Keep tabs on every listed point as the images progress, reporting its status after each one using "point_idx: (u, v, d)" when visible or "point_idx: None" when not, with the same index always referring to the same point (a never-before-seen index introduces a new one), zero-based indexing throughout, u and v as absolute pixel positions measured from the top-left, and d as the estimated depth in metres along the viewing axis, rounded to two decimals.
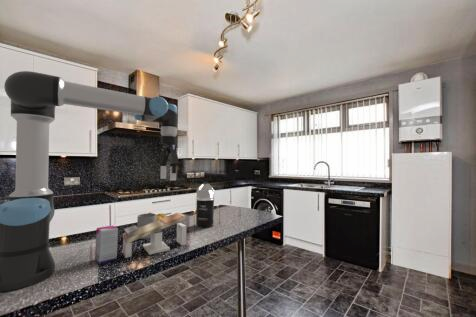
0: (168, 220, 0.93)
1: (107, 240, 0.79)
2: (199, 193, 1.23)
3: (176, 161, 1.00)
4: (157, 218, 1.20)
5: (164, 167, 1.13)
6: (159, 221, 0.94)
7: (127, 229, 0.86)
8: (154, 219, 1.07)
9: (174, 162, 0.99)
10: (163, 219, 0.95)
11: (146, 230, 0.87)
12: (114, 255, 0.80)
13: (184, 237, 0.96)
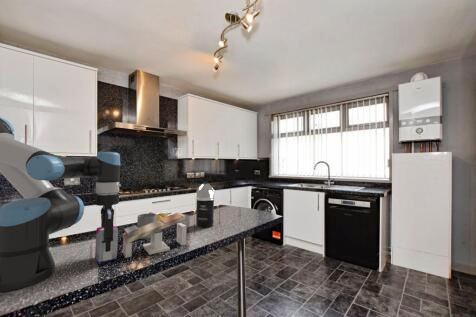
0: (168, 220, 0.93)
1: None
2: (199, 193, 1.23)
3: (110, 237, 0.76)
4: (157, 218, 1.20)
5: None
6: (159, 221, 0.94)
7: (127, 229, 0.86)
8: (154, 219, 1.07)
9: (106, 239, 0.75)
10: (163, 219, 0.95)
11: (146, 230, 0.87)
12: (114, 255, 0.80)
13: (184, 237, 0.96)
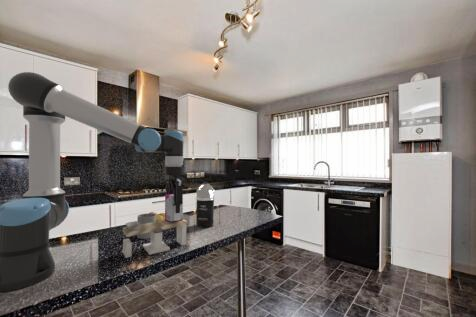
0: (169, 222, 0.93)
1: None
2: (199, 193, 1.23)
3: (180, 201, 0.91)
4: (158, 217, 1.21)
5: None
6: (160, 222, 0.95)
7: (129, 223, 0.86)
8: (154, 219, 1.07)
9: (178, 202, 0.91)
10: (164, 221, 0.95)
11: (147, 227, 0.87)
12: (181, 217, 0.96)
13: (184, 237, 0.96)
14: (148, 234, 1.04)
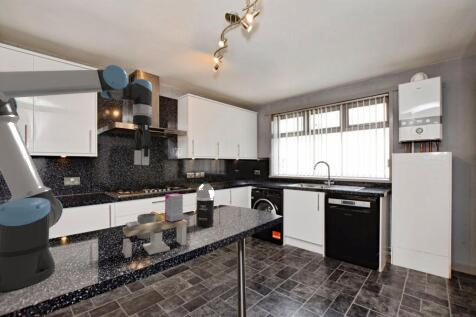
0: (169, 222, 0.93)
1: (176, 204, 0.94)
2: (199, 193, 1.23)
3: (148, 143, 0.88)
4: (159, 217, 1.22)
5: (138, 152, 1.01)
6: (160, 222, 0.95)
7: (129, 223, 0.86)
8: (154, 219, 1.07)
9: (146, 144, 0.87)
10: (164, 221, 0.95)
11: (147, 227, 0.87)
12: (181, 217, 0.96)
13: (184, 237, 0.96)
14: (148, 234, 1.04)
